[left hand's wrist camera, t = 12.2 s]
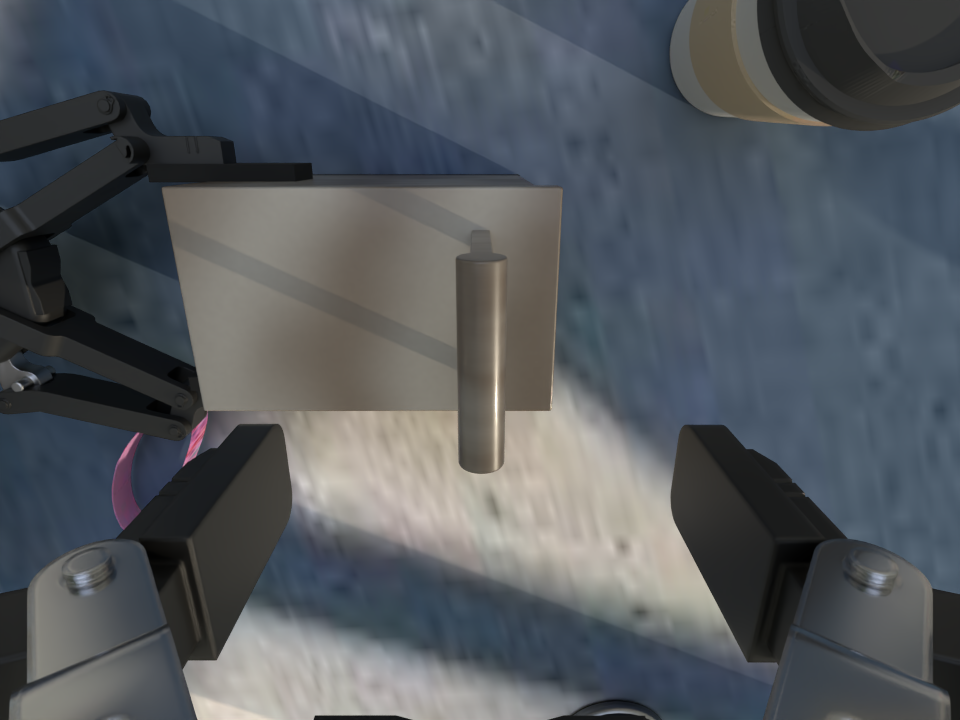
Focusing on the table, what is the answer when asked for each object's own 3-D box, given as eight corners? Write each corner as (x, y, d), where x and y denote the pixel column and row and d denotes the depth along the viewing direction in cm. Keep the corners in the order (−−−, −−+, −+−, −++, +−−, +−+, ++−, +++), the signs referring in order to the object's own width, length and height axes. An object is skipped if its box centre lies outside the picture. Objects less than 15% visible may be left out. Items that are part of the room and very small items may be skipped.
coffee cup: (756, -100, 27) (1045, -364, 13) (853, 48, 30) (1188, -44, 16) (614, 45, 30) (734, -50, 16) (714, 173, 32) (899, 190, 18)
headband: (160, 379, 36) (142, 393, 34) (218, 405, 37) (203, 420, 35) (113, 503, 40) (93, 522, 38) (167, 524, 41) (151, 544, 38)
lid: (559, 185, 22) (604, 204, 14) (548, 401, 25) (580, 514, 17) (174, 185, 22) (4, 204, 14) (214, 401, 25) (93, 514, 17)
